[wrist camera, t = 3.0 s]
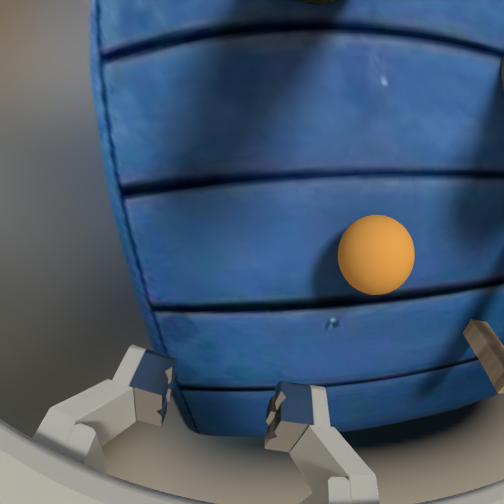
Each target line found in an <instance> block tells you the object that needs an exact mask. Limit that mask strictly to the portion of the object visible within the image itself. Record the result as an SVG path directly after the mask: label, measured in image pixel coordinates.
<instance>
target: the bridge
mask: <svg viewBox="0 0 504 504" xmlns="http://www.w3.org/2000/svg"><path fill="white" fill-rule="evenodd" d="M463 335H464V336H465V338H466V340H467V341H468V343H469V344H470V346H471V348H472V349H473V351H474V353H475V354H476V356H477V358H478V359H479V361H480V363H481V364H482V366H483V368H484V370H485V371H486V373H487V375H488V377H489V378H490V380H491V382H492V384H493V386H494V387H495V389H496V391H497V393H504V346H503V344H502V343H501V341H500V340H499V339H498V337H497V336H496V334H495V333H494V332H493V330H492V329H491V327H490V326H489V325H488V323H487V322H484V321H479V320H473V319H471V320H470V321H469V323H468V325H467V326H466V328H465V329H464V331H463Z"/></svg>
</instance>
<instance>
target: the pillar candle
mask: <svg viewBox="0 0 504 504" xmlns="http://www.w3.org/2000/svg"><path fill="white" fill-rule="evenodd" d="M501 79H502V87H503V91H504V55H503V58H502V65H501Z"/></svg>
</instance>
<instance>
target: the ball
mask: <svg viewBox="0 0 504 504" xmlns="http://www.w3.org/2000/svg"><path fill="white" fill-rule="evenodd" d="M414 258H415V252H414V245H413V242H412V239H411V237H410V235H409V233H408V232H407V230H406V229H405V228H404V227H403V226H402V225H401V224H400V223H399V222H398V221H396V220H394V219H392V218H390V217H387V216H383V215H369V216H365V217H362V218H360V219H358V220H356V221H355V222H353V223H352V224H351V225H350V226H349V227H348V228H347V229H346V231H345V232H344V234H343V235H342V238H341V240H340V243H339V246H338V263H339V267H340V270H341V272H342V274H343V276H344V278H345V279H346V280H347V281H348V283H349V284H350V285H351V286H353V287H354V288H355V289H357V290H359V291H361V292H363V293H367V294H371V295H380V294H386V293H389V292H391V291H394V290H395V289H397V288H398V287H400V286H401V285H402V284H403V283H404V282H405V281H406V279H407V278H408V276H409V275H410V273H411V270H412V268H413V264H414Z"/></svg>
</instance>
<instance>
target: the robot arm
mask: <svg viewBox="0 0 504 504" xmlns="http://www.w3.org/2000/svg"><path fill="white" fill-rule="evenodd" d="M176 364H177V359H176V358H173V357H170V356H167V355H163V354H160V353H157V352H154V351H151V350H148V349H144V348H141V347H138V346H135V345H131V346H130V347H129V349H128V350H127V352H126V354H125V356H124V358H123V360H122V362H121V364H120V366H119V367H118V370H117V371H116V373H115V375H114V377H113V379H112V380H109V379H107V380H105V381H103V382H101V383H99V384H97V385H95V386H93V387H91V388H89V389H87V390H85V391H83V392H81V393H79V394H77V395H75V396H73V397H71V398H69V399H67V400H65V401H63V402H61V403H59V404H57V405H55V406H53V407H51V408H50V409H49V411H48V413H47V414H46V416H45V418H44V419H43V421H42V423H41V425H40V427H39V428H38V430H37V432H36V434H35V435H34V437H33V439H31V438H30V437H28V436H26V435H24V434H23V433H21V432H19V431H18V430H16V429H14V428H13V427H11V426H10V425H8V424H6V423H5V422H3V421H2V420H0V504H214V503H208V502H204V501H199V500H193V499H189V498H185V497H181V496H176V495H173V494H168V493H165V492H161V491H158V490H154V489H150V488H147V487H144V486H141V485H138V484H134V483H131V482H128V481H125V480H122V479H120V478H117V477H114V476H111V475H109V474H106V473H105V471H106V468H107V466H108V465H107V463H106V460H105V457H104V454H103V452H102V449H101V446H103V445H104V444H105V443H107V442H108V441H110V440H111V439H112V438H114V437H115V436H117V435H118V434H119V433H121V432H122V431H123V430H125V429H126V428H128V427H129V426H130V425H132V424H133V423H134V422H136V420H139V421H142V422H145V423H149V424H153V425H156V426H160V427H161V426H162V423H163V420H164V417H165V414H166V410H167V409H166V408H167V402H168V401H169V400H170V398H171V395H172V392H173V387H174V383H175V373H174V371H175V369H176ZM266 422H267V423H268V425H269V426H268V428H267V430H266V432H265V449H270V450H278V451H284V452H290V455H291V457H292V459H293V460H294V462H295V464H296V466H297V467H298V469H299V471H300V472H301V474H302V476H303V477H304V479H305V481H306V482H307V484H308V486H309V487H310V489H311V490H312V492H313V493H312V494H311V495H310V496H308V497H307V498H306V499H305V500H303V501H302V502H301V503H299V504H380V502H379V495H378V488H377V481H376V475H375V474H374V473H373V472H372V471H371V470H370V468H369V467H368V466H367V465H366V464H365V463H364V461H363V460H362V459H361V458H360V457H359V456H358V455H357V453H356V452H355V451H354V450H353V449H352V447H351V446H350V445H349V444H348V443H347V442H346V440H345V439H344V438H343V437H342V436H341V435H340V433H339V432H338V431H337V430H336V429H335V427H330V419H329V411H328V403H327V395H326V389H325V388H324V387H319V386H312V385H306V384H298V383H292V382H285V381H279V382H278V383H277V386H276V388H275V394H274V395H272V396H271V399H270V401H269V404H268V408H267V414H266ZM417 504H504V480H501V481H498V482H496V483H493V484H490V485H487V486H484V487H481V488H478V489H474V490H471V491H468V492H464V493H461V494H457V495H453V496H449V497H445V498H441V499H437V500H432V501H427V502H422V503H417Z"/></svg>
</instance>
